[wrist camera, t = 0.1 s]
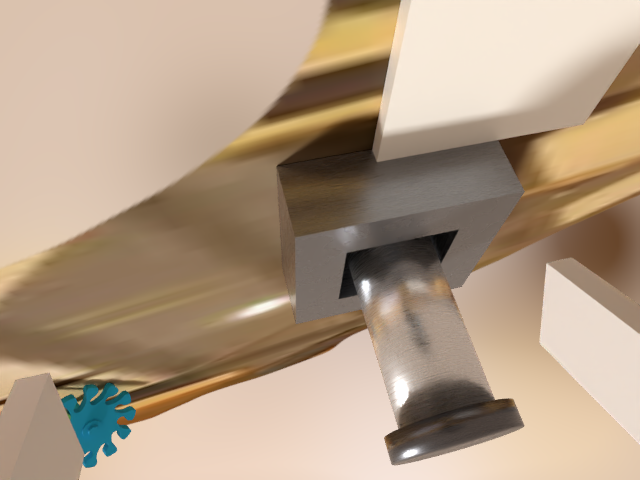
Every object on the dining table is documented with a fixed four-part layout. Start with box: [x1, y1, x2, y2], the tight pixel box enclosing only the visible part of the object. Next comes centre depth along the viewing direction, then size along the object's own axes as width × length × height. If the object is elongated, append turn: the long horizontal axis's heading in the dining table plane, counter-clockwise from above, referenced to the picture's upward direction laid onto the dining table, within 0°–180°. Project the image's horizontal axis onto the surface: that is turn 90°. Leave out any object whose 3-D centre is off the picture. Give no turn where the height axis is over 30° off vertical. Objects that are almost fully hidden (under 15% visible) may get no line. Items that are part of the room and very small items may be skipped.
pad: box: [372, 0, 640, 162], centre depth 28 cm, size 14×14×1 cm
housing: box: [277, 140, 525, 324], centre depth 38 cm, size 14×14×5 cm
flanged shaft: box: [346, 236, 524, 465], centre depth 35 cm, size 8×8×16 cm
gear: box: [61, 383, 136, 468], centre depth 59 cm, size 11×6×10 cm
